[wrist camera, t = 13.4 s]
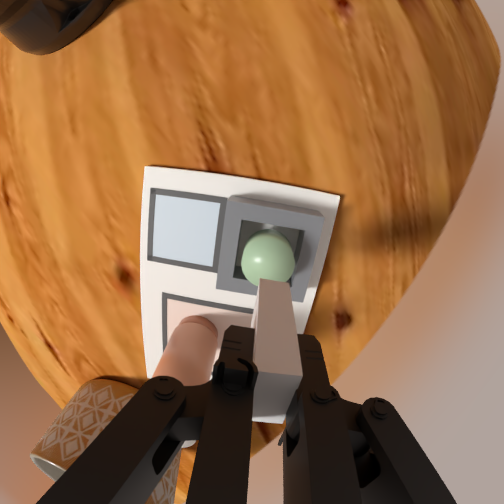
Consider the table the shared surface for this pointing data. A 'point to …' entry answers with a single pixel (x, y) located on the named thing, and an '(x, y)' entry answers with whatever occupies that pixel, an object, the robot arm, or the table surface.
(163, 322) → the sheet
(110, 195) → the table surface
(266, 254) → the button
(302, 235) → the button housing
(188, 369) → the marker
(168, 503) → the planter
